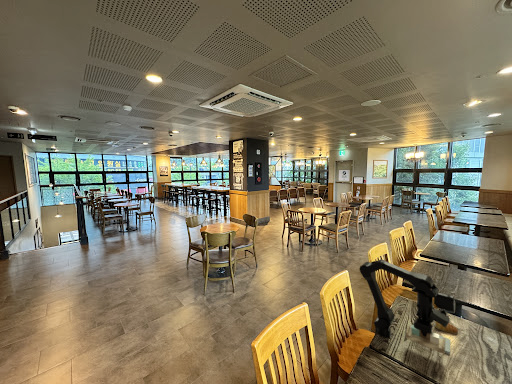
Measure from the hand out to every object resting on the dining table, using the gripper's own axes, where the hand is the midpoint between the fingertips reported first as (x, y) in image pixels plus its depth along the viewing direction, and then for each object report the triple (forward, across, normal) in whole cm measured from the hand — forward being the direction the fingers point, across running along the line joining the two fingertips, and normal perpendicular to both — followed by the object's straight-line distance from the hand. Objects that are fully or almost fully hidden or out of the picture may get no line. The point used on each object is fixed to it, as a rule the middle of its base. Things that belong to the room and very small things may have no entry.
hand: (424, 334), depth 98 cm
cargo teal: (+1, 0, +4) cm, 4 cm away
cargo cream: (+1, 0, -4) cm, 4 cm away
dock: (+10, +11, 0) cm, 15 cm away
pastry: (+11, +28, -6) cm, 31 cm away
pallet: (+3, 0, 0) cm, 3 cm away
